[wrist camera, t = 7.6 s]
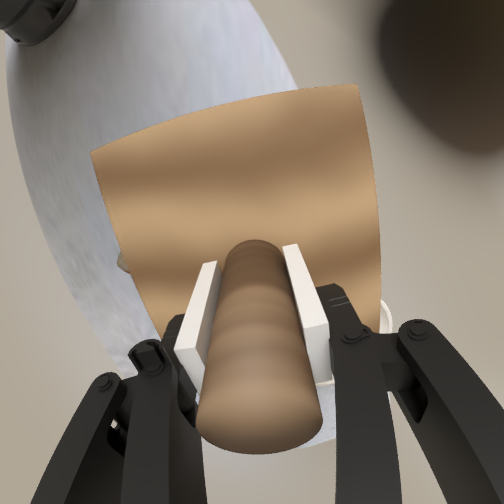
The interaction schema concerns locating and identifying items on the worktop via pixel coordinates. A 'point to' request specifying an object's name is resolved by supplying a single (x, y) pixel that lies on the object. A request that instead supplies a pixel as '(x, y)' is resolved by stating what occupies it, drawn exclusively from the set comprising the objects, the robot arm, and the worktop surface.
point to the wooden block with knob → (250, 243)
